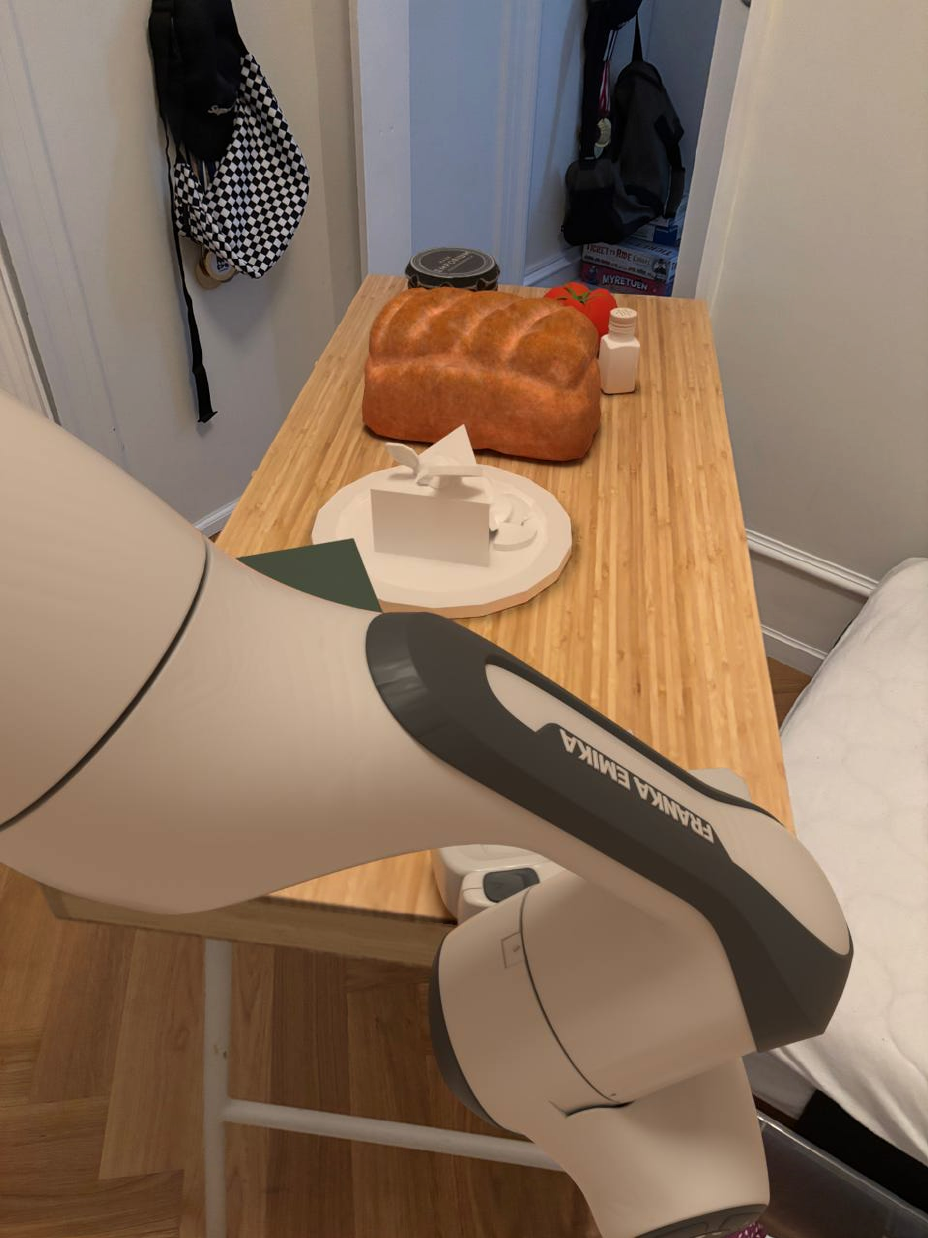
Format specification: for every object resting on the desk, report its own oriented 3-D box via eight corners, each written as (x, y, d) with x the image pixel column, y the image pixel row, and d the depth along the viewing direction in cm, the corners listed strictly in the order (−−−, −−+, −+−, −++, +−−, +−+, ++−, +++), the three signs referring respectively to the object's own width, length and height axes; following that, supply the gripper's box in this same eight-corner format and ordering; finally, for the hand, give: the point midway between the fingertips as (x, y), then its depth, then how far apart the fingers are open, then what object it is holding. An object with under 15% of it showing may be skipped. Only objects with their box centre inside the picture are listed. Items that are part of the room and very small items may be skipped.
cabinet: (396, 722, 72) (391, 633, 66) (246, 755, 69) (227, 665, 63) (360, 622, 81) (353, 537, 75) (226, 648, 78) (208, 562, 72)
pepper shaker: (604, 395, 114) (612, 320, 108) (594, 381, 117) (602, 307, 111) (635, 393, 115) (645, 317, 109) (625, 379, 118) (634, 304, 112)
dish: (551, 637, 79) (560, 526, 72) (273, 596, 83) (256, 487, 76) (586, 488, 98) (597, 387, 91) (357, 460, 102) (350, 362, 95)
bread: (582, 473, 100) (596, 333, 90) (352, 437, 106) (341, 302, 96) (604, 415, 110) (619, 284, 101) (393, 385, 116) (387, 259, 106)
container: (495, 354, 123) (498, 279, 117) (399, 350, 124) (396, 274, 118) (502, 317, 133) (504, 245, 127) (412, 313, 134) (410, 242, 128)
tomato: (519, 343, 126) (521, 287, 122) (576, 323, 132) (581, 269, 127) (575, 369, 120) (580, 312, 115) (633, 347, 125) (640, 292, 121)
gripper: (805, 871, 52) (726, 696, 62) (435, 901, 50) (419, 716, 61) (779, 934, 56) (710, 760, 66) (436, 964, 54) (421, 780, 65)
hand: (568, 739), depth 63 cm, fingers closed on lemon, 5 cm apart
